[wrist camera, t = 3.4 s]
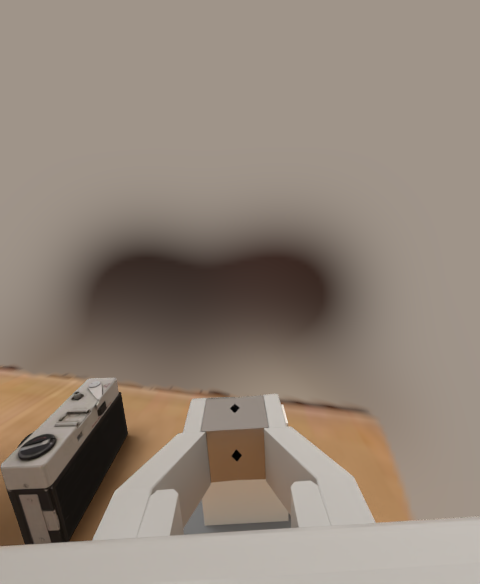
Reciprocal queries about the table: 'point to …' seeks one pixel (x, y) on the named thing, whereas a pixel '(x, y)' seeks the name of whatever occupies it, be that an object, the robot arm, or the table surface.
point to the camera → (65, 462)
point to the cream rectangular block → (242, 502)
